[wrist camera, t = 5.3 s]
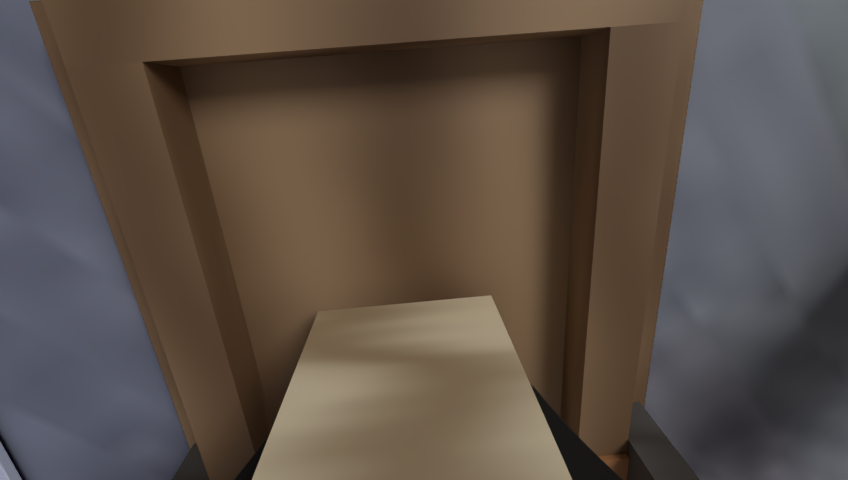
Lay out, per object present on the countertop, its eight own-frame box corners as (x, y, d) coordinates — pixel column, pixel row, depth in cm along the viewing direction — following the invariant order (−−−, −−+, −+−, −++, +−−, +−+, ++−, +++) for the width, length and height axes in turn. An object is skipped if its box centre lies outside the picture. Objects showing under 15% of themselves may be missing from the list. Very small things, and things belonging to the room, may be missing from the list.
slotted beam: (284, 666, 20) (252, 818, 16) (63, 9, 10) (-178, -51, 6) (597, 633, 20) (648, 773, 16) (682, -35, 10) (870, -123, 6)
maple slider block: (343, 444, 13) (299, 703, 8) (318, 311, 11) (235, 519, 6) (494, 429, 13) (560, 674, 8) (491, 295, 12) (574, 485, 6)
